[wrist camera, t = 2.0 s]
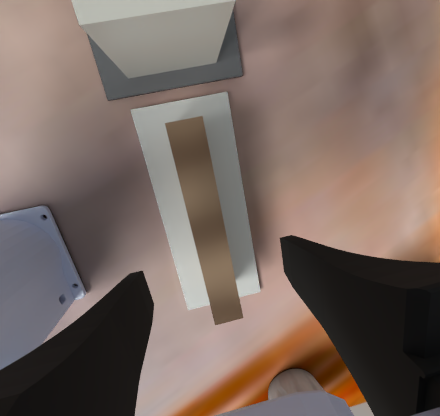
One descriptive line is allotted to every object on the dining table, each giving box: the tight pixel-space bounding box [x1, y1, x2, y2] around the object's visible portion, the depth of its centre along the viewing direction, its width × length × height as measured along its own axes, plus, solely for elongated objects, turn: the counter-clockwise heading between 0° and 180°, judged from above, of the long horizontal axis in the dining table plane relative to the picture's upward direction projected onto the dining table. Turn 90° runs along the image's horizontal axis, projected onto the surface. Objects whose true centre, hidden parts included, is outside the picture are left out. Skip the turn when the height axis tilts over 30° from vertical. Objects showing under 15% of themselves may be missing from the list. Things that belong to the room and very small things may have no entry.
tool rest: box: [131, 92, 260, 310], centre depth 21 cm, size 20×8×1 cm, turn 11°
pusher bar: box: [165, 116, 243, 325], centre depth 19 cm, size 16×2×5 cm, turn 11°
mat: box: [87, 11, 243, 101], centre depth 16 cm, size 11×11×1 cm
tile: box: [71, 0, 236, 79], centre depth 13 cm, size 2×7×8 cm, turn 101°
